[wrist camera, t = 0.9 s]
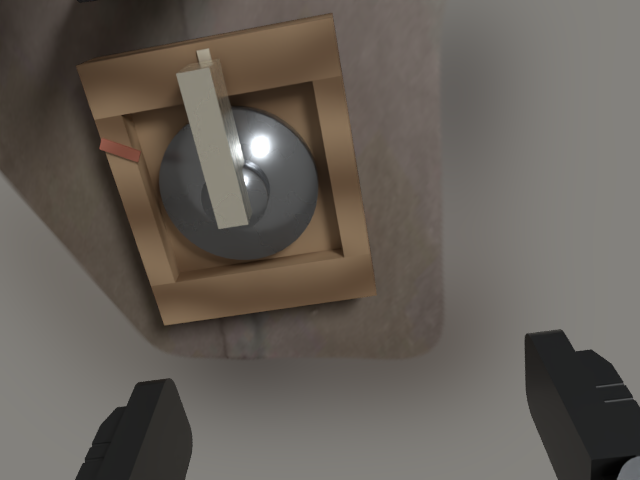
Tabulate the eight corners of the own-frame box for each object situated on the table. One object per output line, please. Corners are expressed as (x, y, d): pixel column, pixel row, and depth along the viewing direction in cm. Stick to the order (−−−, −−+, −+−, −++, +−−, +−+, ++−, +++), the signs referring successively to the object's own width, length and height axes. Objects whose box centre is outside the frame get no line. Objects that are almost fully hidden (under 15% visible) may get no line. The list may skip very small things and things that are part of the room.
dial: (330, 240, 41) (329, 274, 36) (187, 261, 42) (170, 297, 37) (292, 41, 35) (286, 53, 31) (129, 71, 36) (101, 87, 32)
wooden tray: (91, 58, 37) (70, 66, 35) (332, 12, 36) (332, 17, 33) (172, 303, 45) (160, 327, 42) (374, 274, 44) (376, 296, 41)
